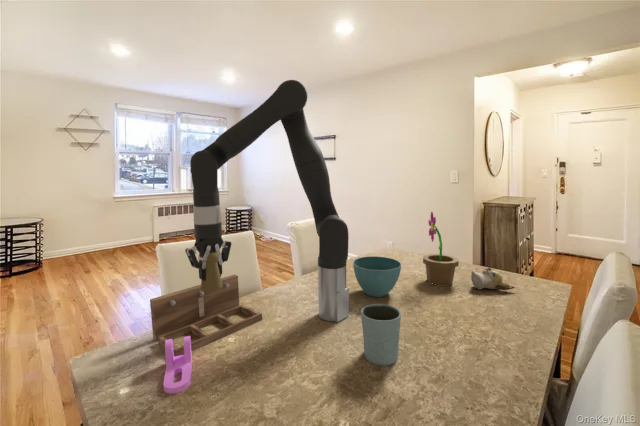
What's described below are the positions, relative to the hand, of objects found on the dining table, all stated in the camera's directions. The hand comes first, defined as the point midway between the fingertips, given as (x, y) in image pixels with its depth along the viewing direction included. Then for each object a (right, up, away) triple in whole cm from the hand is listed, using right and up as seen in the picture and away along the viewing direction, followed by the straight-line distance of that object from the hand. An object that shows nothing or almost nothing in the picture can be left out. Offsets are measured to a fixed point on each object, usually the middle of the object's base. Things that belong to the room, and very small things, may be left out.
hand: (211, 278), depth 95 cm
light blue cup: (+48, -18, -12) cm, 52 cm away
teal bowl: (+54, -12, +30) cm, 63 cm away
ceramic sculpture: (+100, -11, +34) cm, 106 cm away
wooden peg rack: (-1, -16, +3) cm, 17 cm away
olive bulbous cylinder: (0, -3, 0) cm, 3 cm away
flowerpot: (+83, -10, +42) cm, 94 cm away
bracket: (-1, -20, -19) cm, 27 cm away
